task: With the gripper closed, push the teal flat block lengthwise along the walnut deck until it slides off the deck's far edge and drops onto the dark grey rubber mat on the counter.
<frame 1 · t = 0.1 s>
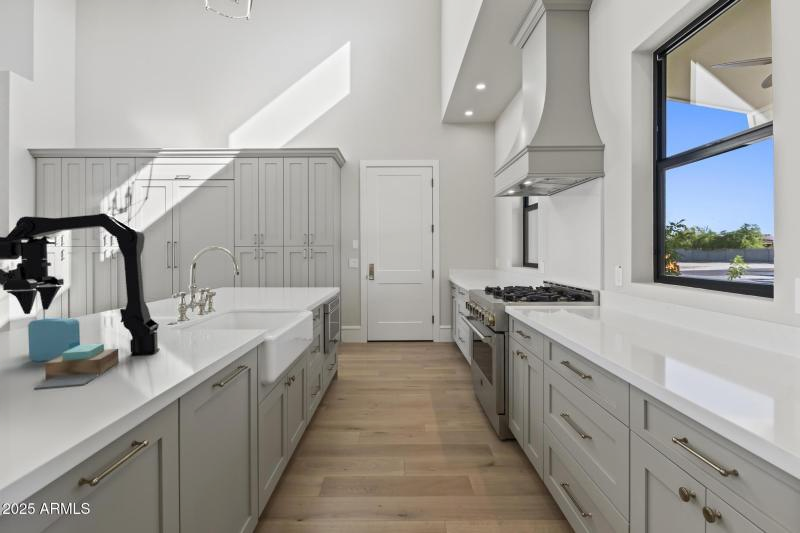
hand: (36, 311, 119), 15 cm above the countertop, tool pointing down, fingers open, 9 cm apart
teal flat block: (84, 355, 109), point 4 cm above the countertop, touching deck
deck: (84, 369, 109), on the countertop
data package: (55, 359, 121), on the countertop
mat: (70, 380, 100), on the countertop
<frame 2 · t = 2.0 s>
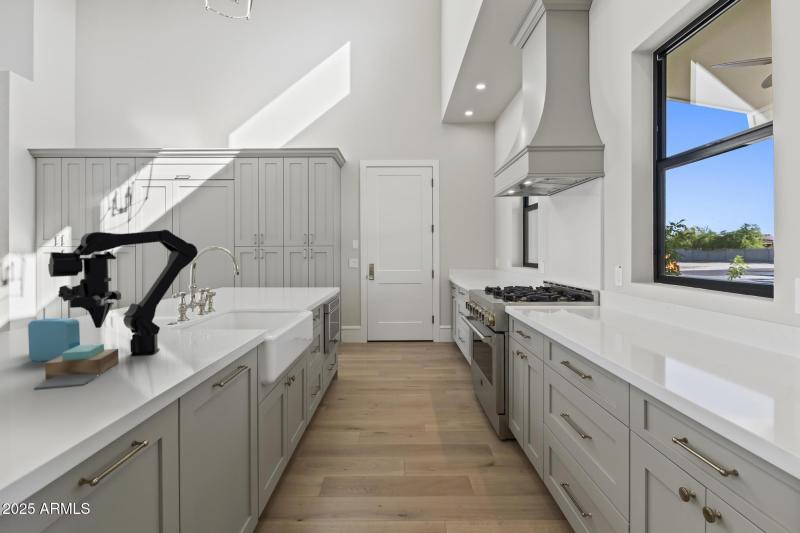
hand: (98, 327, 118), 10 cm above the countertop, tool pointing down, fingers closed
nothing on the countertop moved.
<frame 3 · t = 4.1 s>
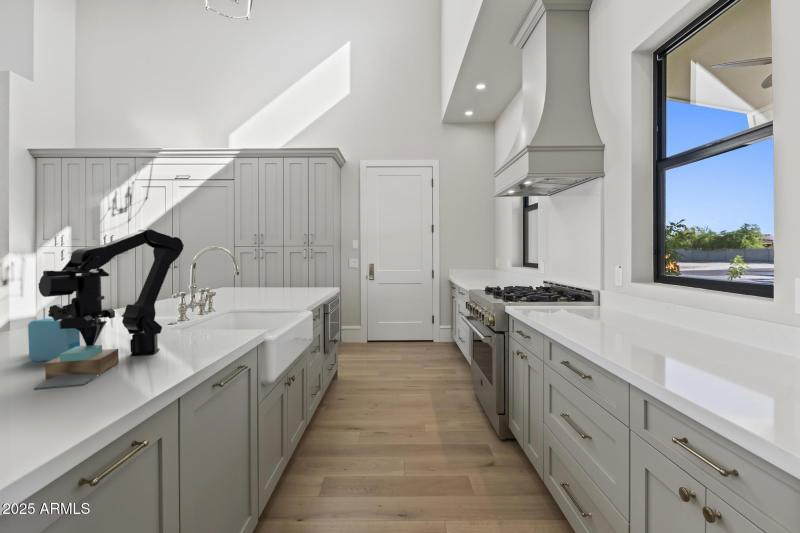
hand: (90, 348, 113), 5 cm above the countertop, tool pointing down, fingers closed
teal flat block: (82, 356, 108), point 4 cm above the countertop, touching deck, gripper
everything else where it was.
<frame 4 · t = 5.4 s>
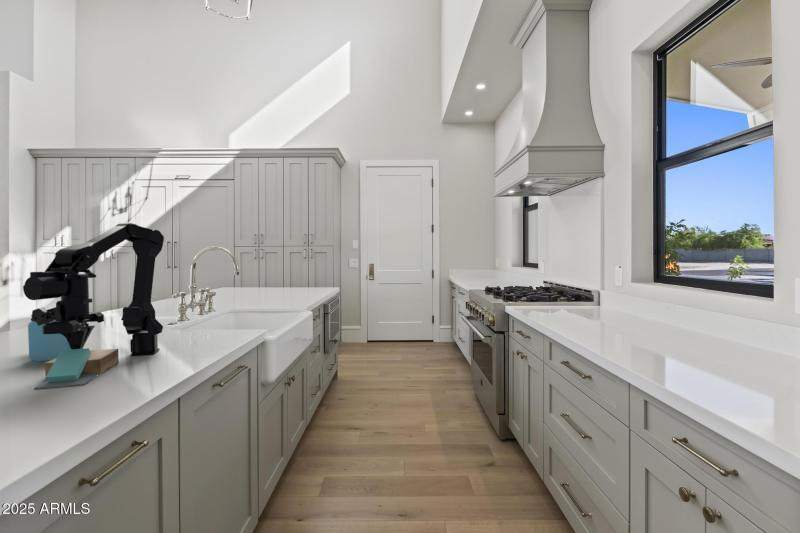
hand: (76, 354, 105), 5 cm above the countertop, tool pointing down, fingers closed
teal flat block: (70, 367, 102), point 3 cm above the countertop, tilted 32°, touching gripper
everything else where it was.
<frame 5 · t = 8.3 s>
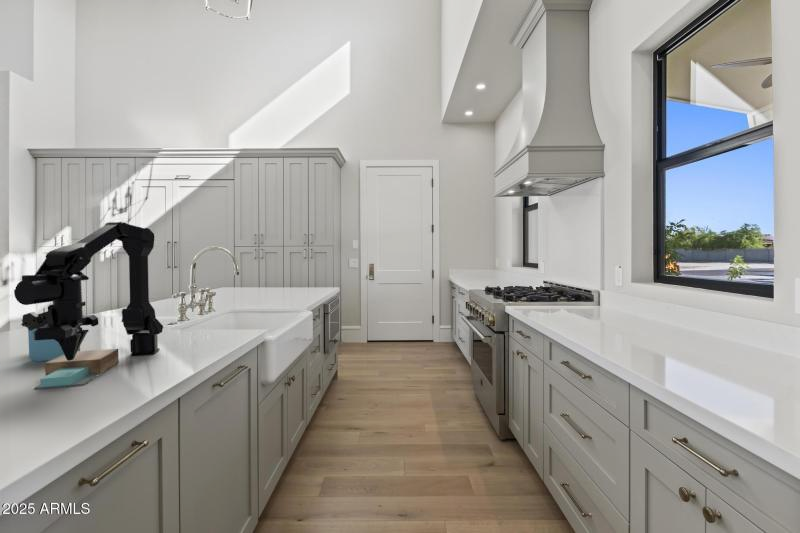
hand: (70, 360, 102), 5 cm above the countertop, tool pointing down, fingers closed
teal flat block: (65, 380, 99), resting on mat
everything else where it was.
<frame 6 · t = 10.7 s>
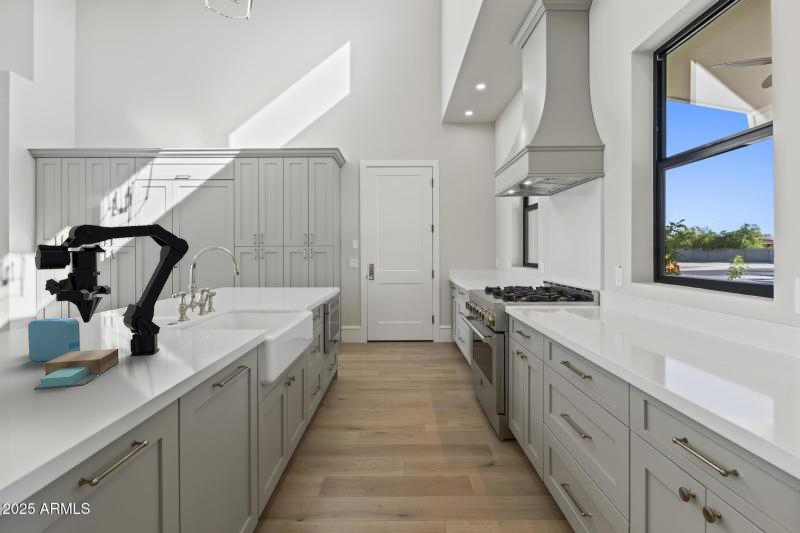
hand: (86, 322, 115), 12 cm above the countertop, tool pointing down, fingers closed
nothing on the countertop moved.
at the end: teal flat block resting on mat; teal flat block inside the target area on the mat (0.8 cm from its centre), point 0.4 cm above the mat's base; teal flat block touching mat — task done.
